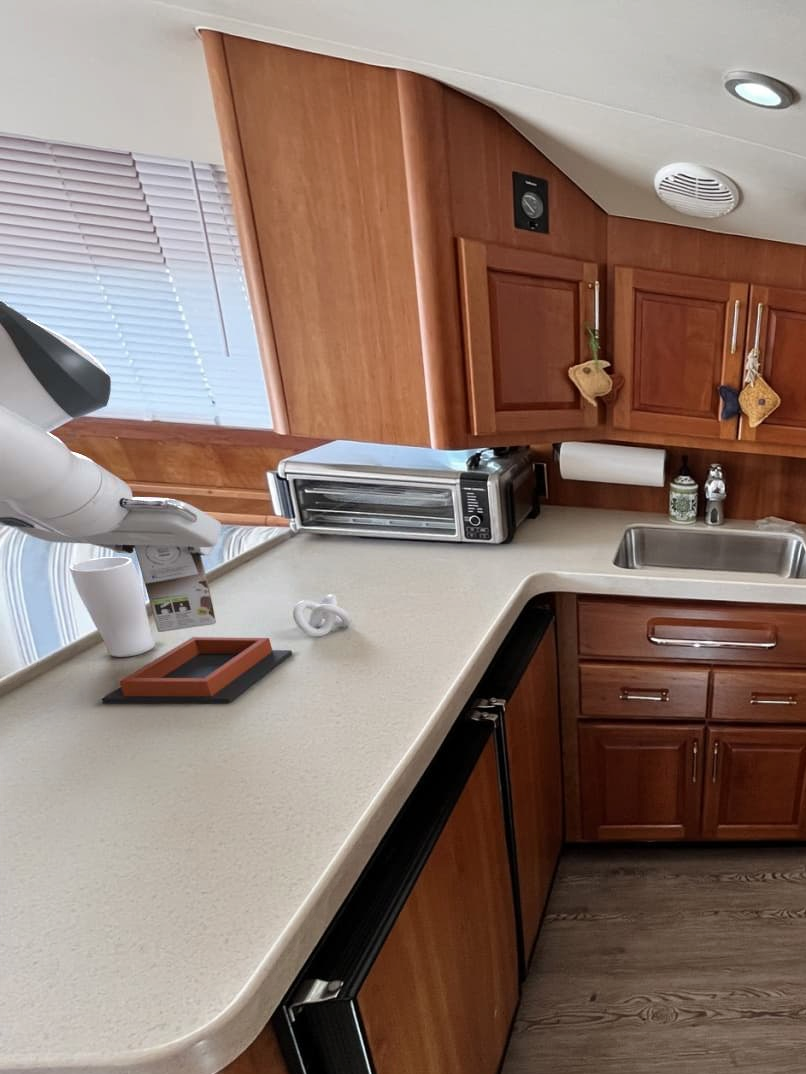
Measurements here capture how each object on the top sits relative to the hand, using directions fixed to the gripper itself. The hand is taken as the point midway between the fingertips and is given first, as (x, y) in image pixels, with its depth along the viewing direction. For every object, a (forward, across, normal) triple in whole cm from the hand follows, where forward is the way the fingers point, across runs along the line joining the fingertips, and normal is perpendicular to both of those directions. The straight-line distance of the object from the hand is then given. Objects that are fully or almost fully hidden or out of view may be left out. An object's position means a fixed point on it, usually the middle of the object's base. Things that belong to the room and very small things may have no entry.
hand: (166, 549), depth 90 cm
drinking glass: (+20, +16, +9) cm, 27 cm away
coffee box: (+8, 0, +8) cm, 11 cm away
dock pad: (+14, 0, +15) cm, 20 cm away
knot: (+26, -9, +3) cm, 28 cm away
